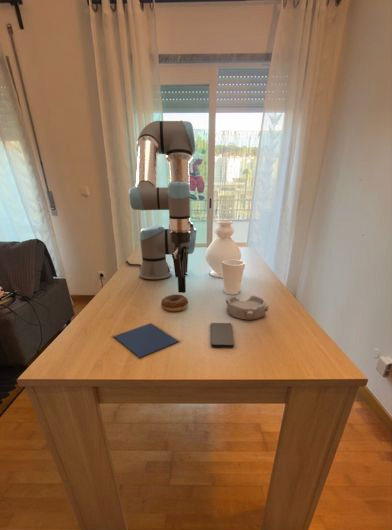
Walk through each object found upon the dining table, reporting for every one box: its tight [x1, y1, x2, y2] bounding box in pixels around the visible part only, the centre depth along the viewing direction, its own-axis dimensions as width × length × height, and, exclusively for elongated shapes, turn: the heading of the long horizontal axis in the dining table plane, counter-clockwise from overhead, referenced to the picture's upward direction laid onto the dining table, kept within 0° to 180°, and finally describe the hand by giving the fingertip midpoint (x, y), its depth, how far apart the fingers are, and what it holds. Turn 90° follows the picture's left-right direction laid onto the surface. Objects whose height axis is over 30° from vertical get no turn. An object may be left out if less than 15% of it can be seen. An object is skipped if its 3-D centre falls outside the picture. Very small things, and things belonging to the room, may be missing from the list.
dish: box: [225, 295, 269, 320], centre depth 105 cm, size 14×14×5 cm
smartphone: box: [210, 322, 235, 348], centre depth 91 cm, size 7×1×15 cm
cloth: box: [113, 322, 179, 359], centre depth 90 cm, size 16×14×1 cm
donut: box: [160, 293, 189, 312], centre depth 110 cm, size 11×11×4 cm
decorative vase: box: [204, 219, 242, 279], centre depth 140 cm, size 18×18×25 cm
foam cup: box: [222, 259, 246, 295], centre depth 121 cm, size 10×9×13 cm
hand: (181, 292), depth 116 cm, fingers closed
